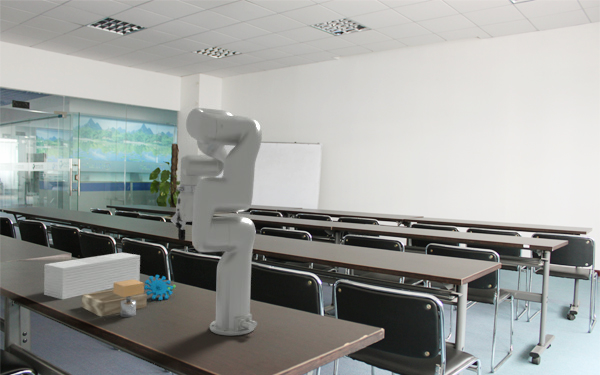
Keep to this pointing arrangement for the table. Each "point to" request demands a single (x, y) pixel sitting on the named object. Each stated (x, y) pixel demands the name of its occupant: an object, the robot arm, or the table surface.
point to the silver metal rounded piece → (128, 307)
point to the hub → (128, 288)
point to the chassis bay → (108, 302)
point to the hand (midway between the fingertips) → (189, 239)
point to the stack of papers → (89, 274)
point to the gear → (159, 287)
